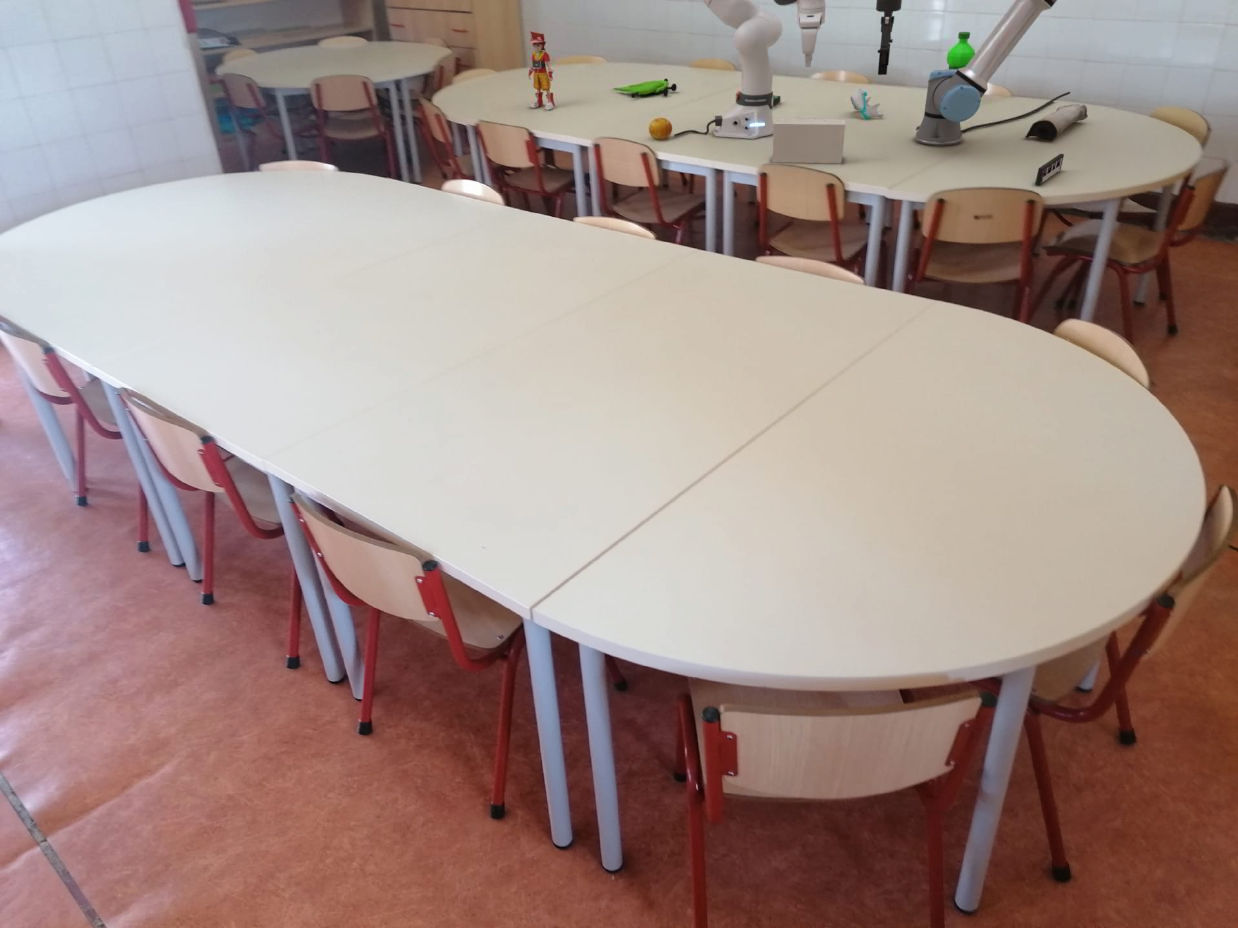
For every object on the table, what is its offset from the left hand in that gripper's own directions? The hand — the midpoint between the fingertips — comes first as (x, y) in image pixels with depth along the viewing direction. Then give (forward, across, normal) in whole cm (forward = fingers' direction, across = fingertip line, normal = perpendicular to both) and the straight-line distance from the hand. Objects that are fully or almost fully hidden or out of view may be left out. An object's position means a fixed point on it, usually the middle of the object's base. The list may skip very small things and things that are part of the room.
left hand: (808, 64), depth 295 cm
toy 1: (+26, -61, -113) cm, 131 cm away
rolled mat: (+29, -28, +86) cm, 95 cm away
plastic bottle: (+28, -70, +55) cm, 93 cm away
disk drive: (+27, -63, -20) cm, 72 cm away
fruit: (+27, -15, -53) cm, 62 cm away
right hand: (+2, +3, +24) cm, 24 cm away
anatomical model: (+28, -49, +20) cm, 60 cm away
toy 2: (+26, -89, -76) cm, 120 cm away
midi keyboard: (+30, +26, +75) cm, 85 cm away
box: (+28, +10, +1) cm, 30 cm away
